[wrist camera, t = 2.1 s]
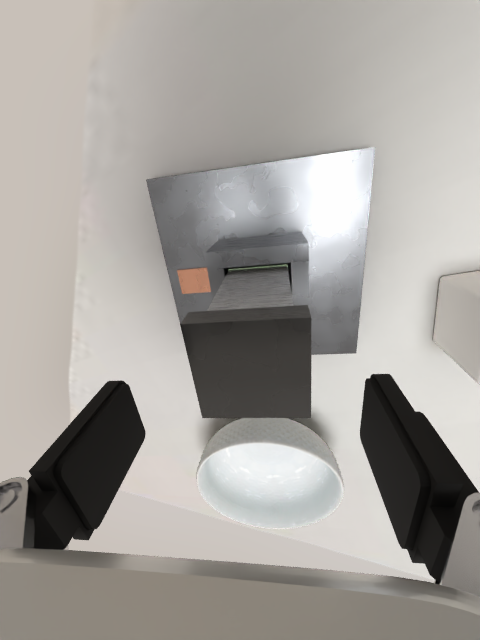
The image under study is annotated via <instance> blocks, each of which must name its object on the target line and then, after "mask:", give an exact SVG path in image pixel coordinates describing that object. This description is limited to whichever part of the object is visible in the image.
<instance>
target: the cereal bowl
mask: <svg viewBox="0 0 480 640" xmlns="http://www.w3.org/2000/svg"><path fill="white" fill-rule="evenodd" d="M196 479H197V487H198V490H199V492H200V494H201V496H202V497H203V498H204V500H205V501H206V502H207V503H208V504H209V505H210V506H211V507H212V508H213V509H215V510H216V511H217V512H219V513H221V514H222V515H224V516H226V517H228V518H230V519H232V520H234V521H237V522H240V523H243V524H246V525H250V526H254V527H260V528H268V529H291V528H299V527H303V526H307V525H311V524H314V523H316V522H318V521H321V520H322V519H324V518H326V517H328V516H329V515H330V514H331V513H333V512H334V511H335V510H336V509H337V507H338V506H339V505H340V503H341V501H342V498H343V495H344V484H343V480H342V476H341V472H340V470H339V467H338V464H337V462H336V458H335V457H334V455H333V453H332V452H331V450H330V448H329V447H328V446H327V444H326V443H325V442H324V441H323V439H322V438H321V437H319V436H318V435H317V434H316V433H315V432H314V431H312V430H311V429H309V428H308V427H306V426H304V425H303V424H301V423H298V422H297V421H294V420H290V419H287V418H241V419H239V420H235V421H234V422H231V423H229V424H227V425H226V426H225V427H223V428H221V429H220V430H219V431H217V433H216V434H215V435H214V436H213V437H212V438H211V439H210V441H209V443H208V444H207V446H206V448H205V449H204V451H203V454H202V456H201V460H200V462H199V466H198V469H197V476H196Z"/></svg>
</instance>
